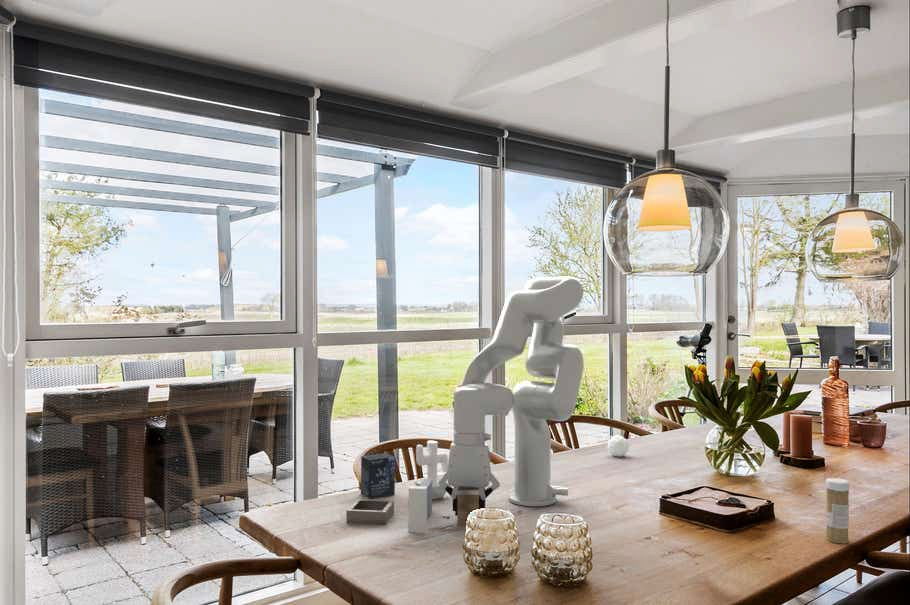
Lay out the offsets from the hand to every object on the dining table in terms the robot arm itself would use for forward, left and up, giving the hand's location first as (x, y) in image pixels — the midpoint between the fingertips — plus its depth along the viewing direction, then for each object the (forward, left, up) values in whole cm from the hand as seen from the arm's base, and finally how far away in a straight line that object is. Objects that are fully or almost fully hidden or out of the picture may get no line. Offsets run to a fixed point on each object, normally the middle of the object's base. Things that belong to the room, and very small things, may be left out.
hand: (468, 513), depth 162 cm
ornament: (-44, -77, -2) cm, 89 cm away
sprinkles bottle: (-82, +2, -2) cm, 82 cm away
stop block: (0, 0, -2) cm, 2 cm away
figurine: (+12, -20, -2) cm, 24 cm away
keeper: (+24, 0, -2) cm, 24 cm away
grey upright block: (+11, 0, -2) cm, 11 cm away
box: (+27, -20, -2) cm, 34 cm away
